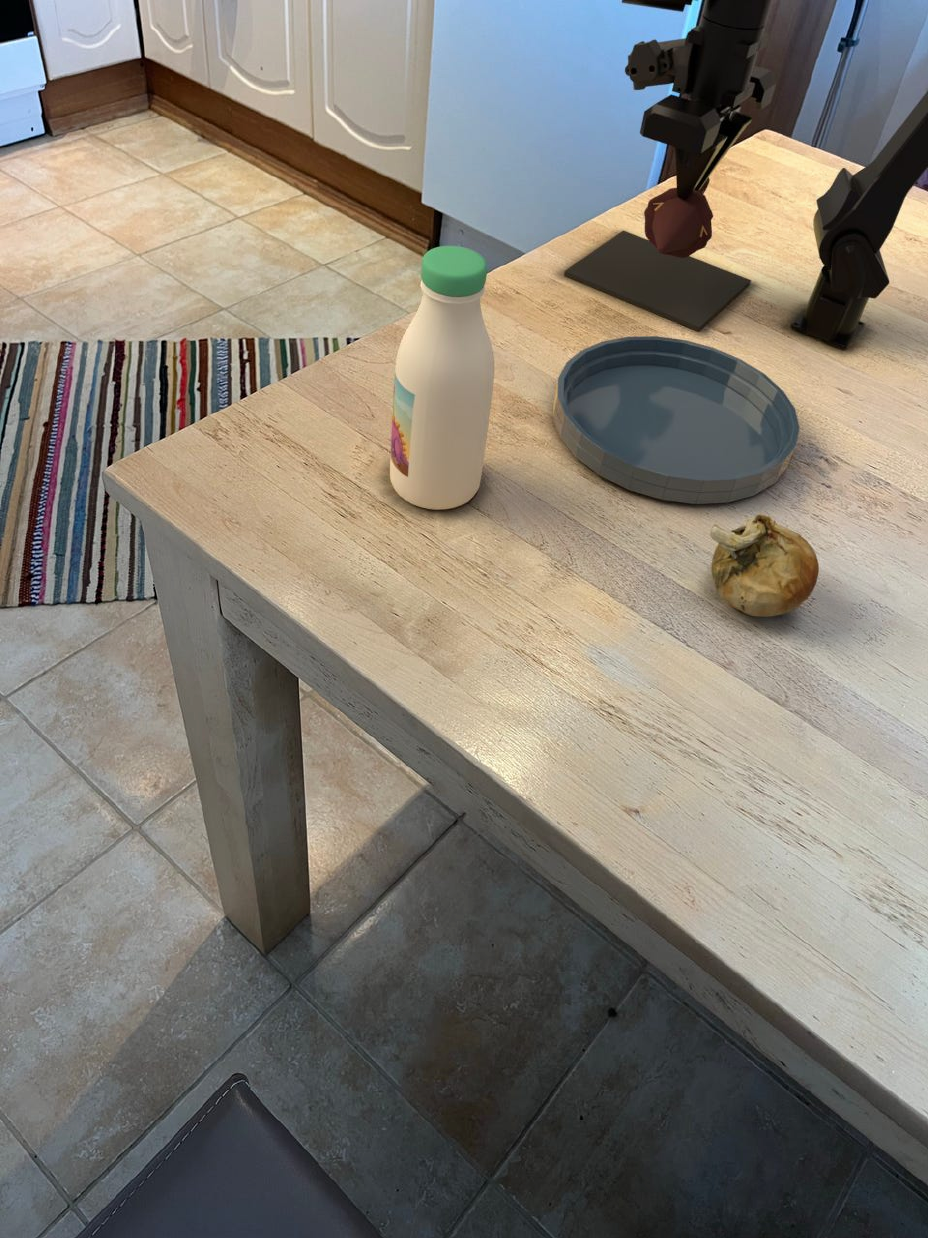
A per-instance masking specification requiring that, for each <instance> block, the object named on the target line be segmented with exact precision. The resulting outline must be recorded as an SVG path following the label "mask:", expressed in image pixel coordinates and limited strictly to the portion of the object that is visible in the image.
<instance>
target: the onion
mask: <svg viewBox="0 0 928 1238" xmlns="http://www.w3.org/2000/svg"><path fill="white" fill-rule="evenodd" d="M745 522H746V525H741V526H739V527H737V528H735V529H731V530H727V529H725V528H722V527H720V526H719V525H718V524H716V523H714V524H713V525H712V527H711V530H710V533H709V536H710V538H711V540H712V541H715V543H717V546H716V547H715V550H714V553H713V555H712V558H711V577H712V580H713V583H714V586H715V589H716V590H717V593H718V594H719V596H720V598H722V599H723V601H724V602H725V603H727V604H728V606H730V607H732V608H734V609H736V610H738V611H741V612H742V613H744V614H746V615H748V616H752V617H775V616H781V615H785V614H787V613H790V612H792V611H794V610H796V609H797V608H798V607H800V606H801V605H802V604H803V603H804V602H805V601H807V600H808V598H809V597H810V596H811V595H812V593H813V591H814V590H815V588H816V584H817V581H818V577H819V571H820V566H819V565H820V564H819V560H818V557H817V554H816V552H815V550H814V548H813V547H812V545H811V544H810V543H809V541H808V540H807V539H805V538H804V537H803V536H802V535H801V534H800V533H798V532H796V531H794V530H792V529H789V528H787V527H786V526H782V525H780V524H779V523H777V522H776V520H775V519H773V518H772V517H771V516H770V515H765V514H761V513H759V514H756V515H755V516H754V518H753V520H751V519H748V518H746V519H745Z"/></svg>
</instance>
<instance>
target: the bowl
mask: <svg viewBox="0 0 928 1238" xmlns="http://www.w3.org/2000/svg"><path fill="white" fill-rule="evenodd" d="M552 406H553V407H552V420H553V423H554V426H555V428H556V431H557V433H558V436H559V438H560V440H561V442H563V443H564V445H565V446H566V448H568V450H569V451H570V452H571V453H572V455H573V456H574V457H575V458H576V459H577V460H579V462H581V463H582V464H584V465H585V466H586V467H588V468H589V469H590V470H591V471H593V472H594V473H595V474H596V475H598V476H600V477H602V478H603V479H605V480H608V481H610V482H611V483H614V484H616V485H618V486H620V487H622V488H624V489H626V490H628V491H631V492H634V493H638V494H641V495H644V496H648V497H651V498H654V499H658V500H662V501H668V502H677V503H684V504H692V505H704V504H705V505H706V504H726V503H731V502H734V501H739V500H742V499H746V498H750V497H753V496H756V495H757V494H759V493H760V492H762V491H765V489H767V488H769V487H771V486H772V485H775V483H776V482H777V481H778V480H779V478H781V476H782V474H783V473H784V472H785V471H786V469H787V468H788V465H789V464H790V461H791V459H792V456H793V454H794V452H795V450H796V447H797V443H798V439H799V434H800V430H801V427H800V423H799V419H798V415H797V411H796V408H795V407H794V405H793V404H792V402H791V400H790V399H789V397H788V396H787V395H786V393H785V391H784V390H783V389H782V388H780V386H779V385H777V384H776V383H775V382H774V381H773V380H772V379H771V378H769V376H767V375H766V374H765V373H764V372H762V371H761V370H759V369H757V368H756V367H755V366H753V365H751V364H749V363H747V362H746V361H744V360H743V359H741V358H739V357H738V356H737V357H736V356H734V355H732V354H731V353H727V352H725V351H722V350H720V349H718V348H715V347H712V346H709V345H705V344H701V343H697V342H694V341H690V340H686V339H680V338H672V337H665V336H658V335H652V336H651V335H648V336H647V335H645V336H643V335H642V336H638V335H637V336H635V335H634V336H623V337H620V338H613V339H606V340H603V341H600V342H598V343H595V344H593V345H590V346H588V347H586V348H583V349H581V350H579V352H578V353H576V354H575V355H574V356H572V357H571V358H570V359H569V360H567V361H566V363H565V364H564V366H563V368H562V370H561V372H560V373H559V375H558V376H557V381H556V387H555V391H554V397H553V405H552Z"/></svg>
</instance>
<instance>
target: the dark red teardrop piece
mask: <svg viewBox="0 0 928 1238" xmlns="http://www.w3.org/2000/svg"><path fill="white" fill-rule="evenodd" d="M710 181H711V180H710V176H709V177H708V179H707V180H706V181H705V183H704V184H703V186H702V187H701V188H700V189H699V190H698V191H696V190H695V189H694V190H693V192H692V193H691V195H690V196H689V198H688V199H687V200H684V199H681V198H678V197H677V187H671V188H669V189H667V190H666V191H664V192H662V193H660V194H658V195H656V196H654V197H652V198H651V199H649V201H648V203H647V207H646V208H645V209H644V211H643V216H644V235H645V237H646V239H647V240H649V241H650V242H651V243H652V244H653V245H654V246H655V247H656V248H657V249H658V251H659V253H661V254H666V255H672V256H675V257H679V258H685V257H688V256H690V257H691V256H692V255H693V254H694V253H697V252H698V251H700V250H702V249H705V248H706V247H707V245H708V244H707V243H708V242H709V241H710V240H711V239H712V237H713V226H712V220H713V218H714V213H713V210H712V208H711V206H710V204H709V202H708V199H707V197H706V195H705V192H706V191H707V189H708V187H709V185H710Z"/></svg>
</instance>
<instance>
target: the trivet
mask: <svg viewBox="0 0 928 1238" xmlns="http://www.w3.org/2000/svg"><path fill="white" fill-rule="evenodd" d="M563 276H564V277H566V278H569V279H571V280H573V281H576V282H578V283H581V284H583V285H585V286H588V287H591V288H593V289H595V290H597V291H600V292H602V293H605V294H608V295H609V296H612V297H614V298H617V299H619V300H622V301H623V302H626V303H628V304H630V305H634V306H635V307H638V308H640V309H642V310H645V311H648V312H650V313H653V314H654V315H657V316H660V317H662V318H665V319H667V320H669V321H672V322H674V323H676V324H678V325H681V326H683V327H686V328H689V329H691V330H692V331H695V332H700V331H701V330H702V329H703V328H704V327H705V326H707V325H708V324H709V323H710V322H711V321H712V320H713V319H714V318H716V317H717V316H718V315H719V314H720V313H721V312H722V311H723V310H724V309H725V308H726V307H727V306H729V304H731V303H732V302H733V301H734V300H736V298H737V297H738V296H739V295H740V294H741V293H743V292H744V291H745V290H746V289H747V288H749V286H750V285H751V283H752V279H750V278H746V277H744V276H741V275H738V274H736V273H734V272H732V271H728V270H726V269H724V268H722V267H718V266H716V265H714V264H711V263H708V262H706V261H703V260H701V259H698V258H696V257H692V256H691V255H690V256H688V257H685V258H679V257H675V256H672V255H666V254H661V253H659V251H658V249H657V248H656V247H655V246H654V245H653V244H652V243H651V242H650V241H649V240H648V239H647V238H645V237H641V236H639V235H637V234H634V233H631V232H629V231H626V230H622V231H620V232H619V233H617V234H616V235H615V236H612V237H611V238H610V239H609V240H607V241H606V242H604V243H602V244H601V245H599V246H598V247H597V248H595V249H594V250H592V251H591V252H590V253H588V254H587V255H586V256H584V257H582V258H581V259H580V260H578V261H577V262H575V263H574V264H572V265H571V266H569V267H568V268H567V269H565V270H564V272H563Z"/></svg>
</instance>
